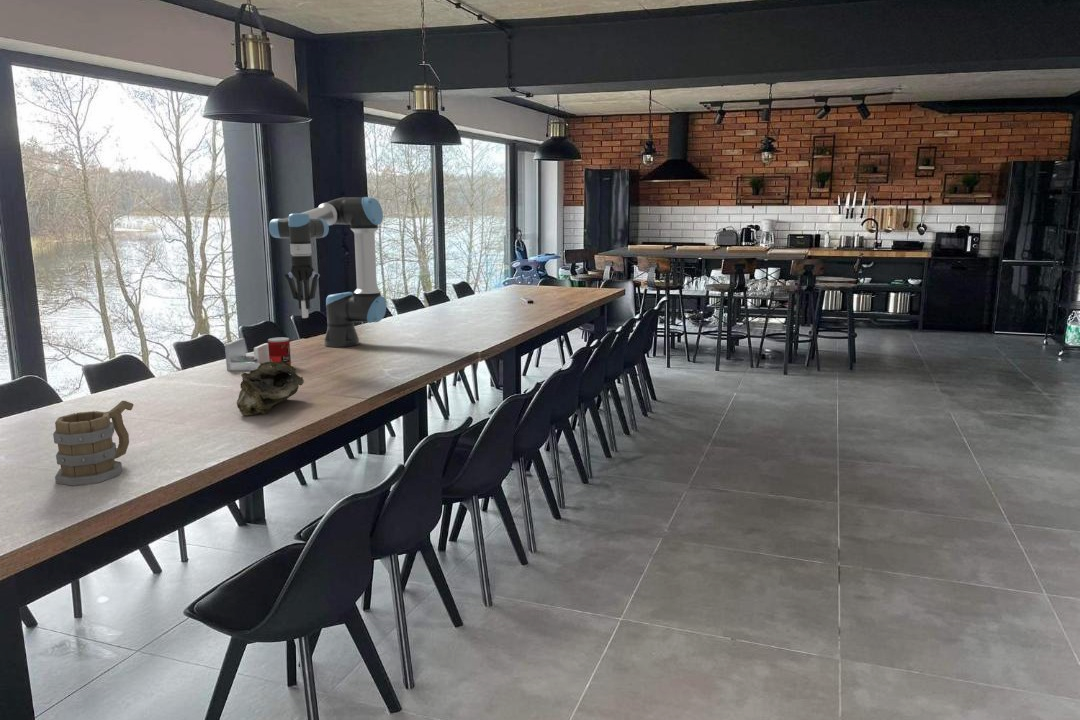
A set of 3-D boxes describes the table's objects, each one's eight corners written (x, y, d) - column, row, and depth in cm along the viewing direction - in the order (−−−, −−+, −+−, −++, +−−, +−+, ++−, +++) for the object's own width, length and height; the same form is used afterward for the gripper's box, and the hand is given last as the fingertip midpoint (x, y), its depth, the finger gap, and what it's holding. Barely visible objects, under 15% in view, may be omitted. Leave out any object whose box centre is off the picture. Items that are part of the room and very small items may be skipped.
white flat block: (266, 363, 302) (264, 343, 301) (270, 363, 302) (268, 343, 301) (252, 370, 289) (250, 349, 288) (256, 370, 289) (254, 349, 288)
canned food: (285, 369, 292) (283, 340, 290) (266, 368, 294) (263, 340, 292) (294, 365, 300) (293, 337, 298) (275, 364, 301) (273, 337, 299)
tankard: (84, 488, 168) (76, 422, 165) (44, 481, 172) (35, 416, 169) (159, 461, 186) (153, 401, 183) (121, 455, 190) (114, 396, 188)
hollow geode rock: (293, 409, 251) (263, 375, 252) (318, 384, 248) (287, 350, 248) (243, 431, 224) (209, 393, 225) (269, 403, 221) (235, 364, 221)
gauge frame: (242, 363, 304) (240, 338, 303) (274, 363, 304) (273, 338, 302) (226, 370, 291) (224, 344, 289) (260, 370, 290) (258, 344, 288)
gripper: (280, 255, 285) (284, 318, 289) (315, 255, 284) (318, 318, 289) (287, 254, 292) (292, 316, 296) (321, 254, 291) (325, 316, 296)
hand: (305, 317), depth 293 cm, fingers closed
